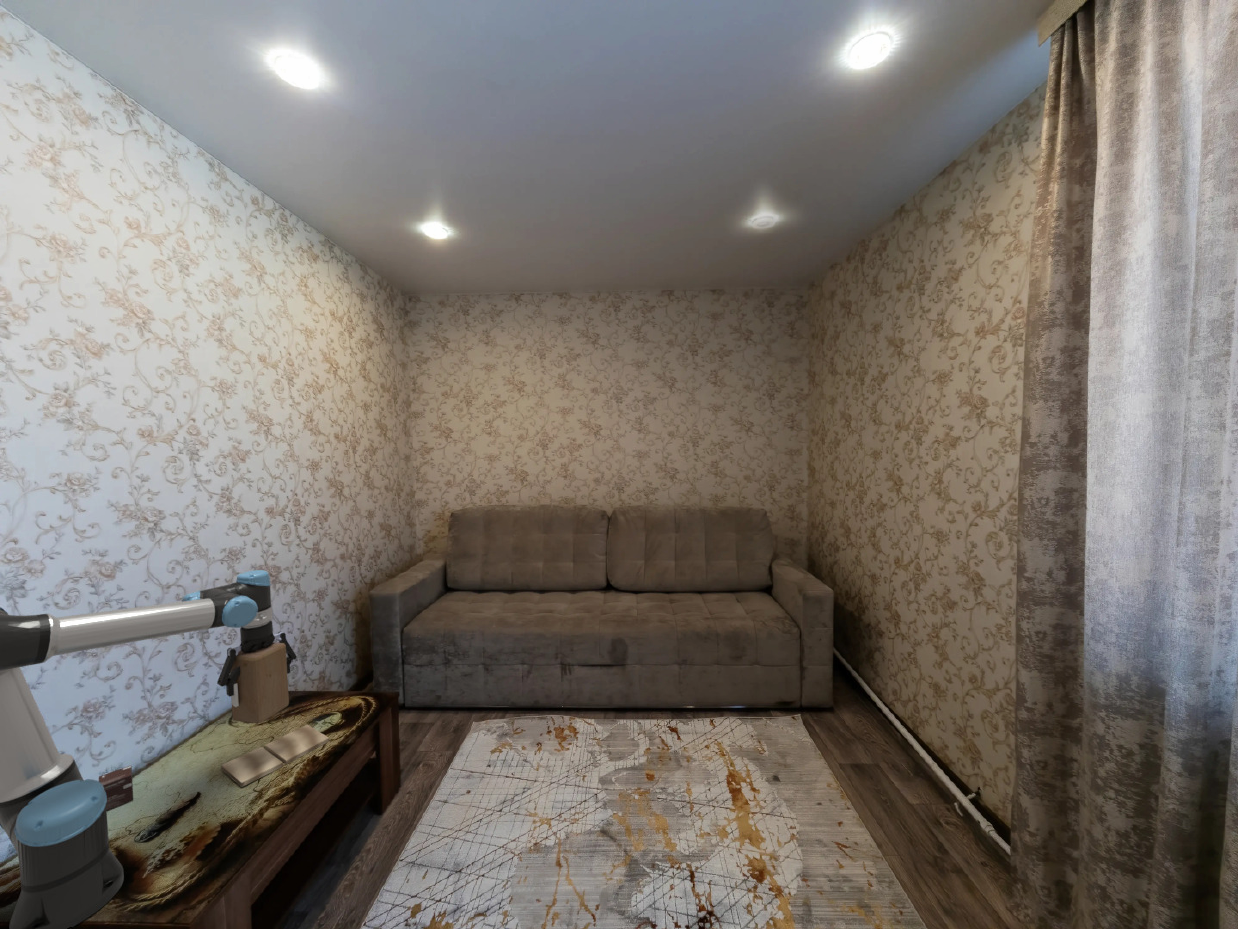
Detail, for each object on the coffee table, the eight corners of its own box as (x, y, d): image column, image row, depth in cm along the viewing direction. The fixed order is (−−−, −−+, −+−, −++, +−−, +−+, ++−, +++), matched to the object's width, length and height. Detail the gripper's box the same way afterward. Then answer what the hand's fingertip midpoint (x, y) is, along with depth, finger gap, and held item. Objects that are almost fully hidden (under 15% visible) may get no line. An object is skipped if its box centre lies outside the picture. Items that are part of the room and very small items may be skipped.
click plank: (241, 787, 127) (241, 783, 126) (221, 769, 134) (221, 765, 134) (282, 766, 135) (282, 762, 135) (261, 750, 142) (261, 746, 142)
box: (99, 815, 118) (97, 787, 118) (100, 802, 122) (98, 776, 122) (133, 801, 123) (131, 775, 122) (133, 789, 127) (131, 764, 127)
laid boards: (286, 764, 136) (286, 760, 136) (265, 748, 143) (265, 745, 143) (329, 741, 146) (329, 738, 146) (307, 727, 153) (307, 724, 153)
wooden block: (259, 725, 130) (255, 657, 129) (231, 721, 132) (226, 654, 131) (290, 705, 140) (287, 642, 139) (264, 702, 142) (260, 639, 141)
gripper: (209, 642, 123) (214, 720, 124) (307, 612, 143) (310, 679, 144) (198, 636, 126) (203, 711, 128) (295, 608, 147) (299, 673, 148)
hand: (260, 694), depth 136 cm, fingers closed on wooden block, 12 cm apart
